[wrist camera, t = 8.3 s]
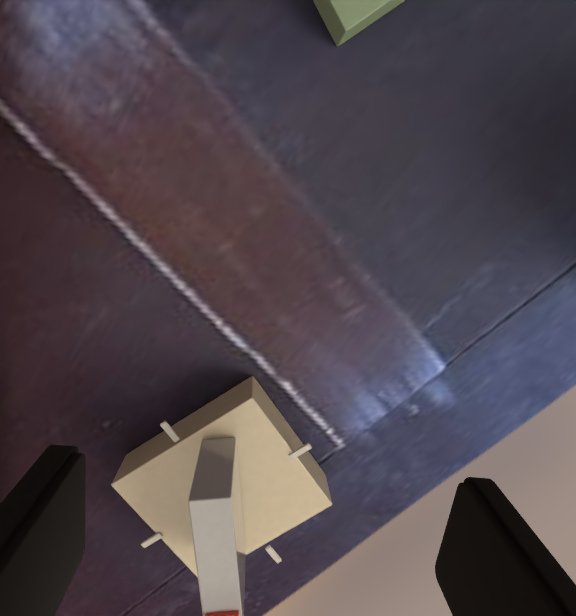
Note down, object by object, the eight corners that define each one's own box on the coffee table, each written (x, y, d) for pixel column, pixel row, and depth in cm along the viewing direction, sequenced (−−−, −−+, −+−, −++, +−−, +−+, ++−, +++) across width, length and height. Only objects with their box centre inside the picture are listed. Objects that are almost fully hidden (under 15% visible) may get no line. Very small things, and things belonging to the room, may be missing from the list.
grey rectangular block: (201, 439, 24) (186, 504, 19) (236, 436, 24) (230, 501, 19) (214, 550, 26) (203, 636, 21) (246, 547, 26) (243, 632, 21)
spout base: (253, 346, 26) (252, 366, 23) (350, 481, 29) (361, 515, 26) (96, 445, 27) (75, 477, 24) (206, 565, 30) (201, 607, 27)
